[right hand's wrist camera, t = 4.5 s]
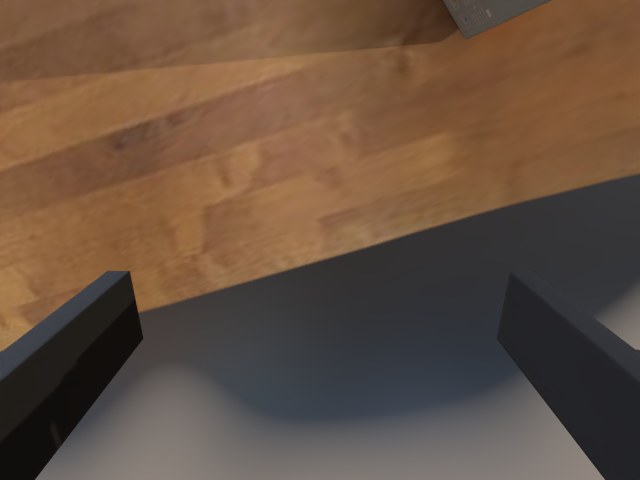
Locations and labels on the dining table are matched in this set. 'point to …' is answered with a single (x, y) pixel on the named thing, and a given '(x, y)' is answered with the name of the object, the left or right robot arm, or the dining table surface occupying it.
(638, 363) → the right robot arm
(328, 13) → the dining table surface
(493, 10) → the hard drive box
